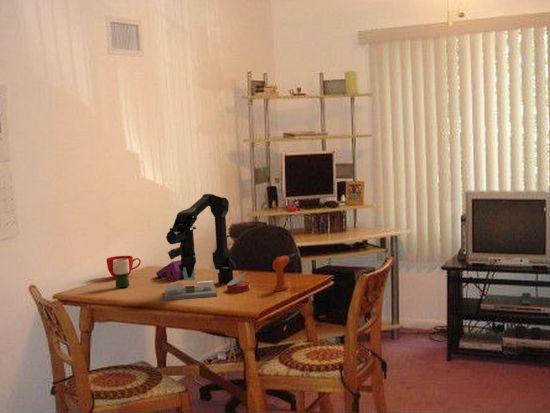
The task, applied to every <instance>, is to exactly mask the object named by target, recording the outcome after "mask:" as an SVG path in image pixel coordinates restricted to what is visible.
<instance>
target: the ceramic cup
mask: <svg viewBox="0 0 550 413" xmlns="http://www.w3.org/2000/svg"><path fill="white" fill-rule="evenodd" d="M116 259H128V260H129V273H127V276H128V277H129V276H130V274H131V273H132V271H133V270H135V269H137V268H138V267H140V265H141V263H142V261H141V259H140V258H139V257H135V258H134V257H133V255H117V256H116V255H115V256H110V257H107V258H106V266H107V270H108V272H109V274H110V275H111V276H112V277H113V278H114V279H116V276H117V274H114V272H113V260H116ZM136 260H138V263H137V265H136V266H134V262H135V261H136ZM133 266H134V267H133Z"/></svg>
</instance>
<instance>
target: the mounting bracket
mask: <svg viewBox="0 0 550 413" xmlns="http://www.w3.org/2000/svg"><path fill="white" fill-rule="evenodd" d="M183 267H185V266H184V265H183V264H181V259H180V260H179V259H177V260H175V261H171V262H170V263H168V264H167V265H165V266H164V267H162V268H161V269H159V270H158V271H156V276H157V278H162V276H163V277H167V279H168V280H169V281H170V280H172V282H175V280H176V281H179V280H180V279H184V276H183V272H184V269H183Z"/></svg>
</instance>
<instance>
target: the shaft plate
mask: <svg viewBox="0 0 550 413" xmlns="http://www.w3.org/2000/svg"><path fill="white" fill-rule="evenodd" d="M196 283H197V286H196V285H189V286H187V285H185V287H184V284H183V283H182V282H178V283H172V284H171V283H170V284H166V285H165V289H164V295H163V296H164V297H163V299H164V301H172V300H184V299H186V300H187V299H199V298H207V297H208V298H212V297H213V298H214V297H217V296H218V295H217V290H216V286H215V283H214V280H205V281H204V280H203V281H197V282H196Z"/></svg>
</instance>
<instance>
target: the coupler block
mask: <svg viewBox="0 0 550 413" xmlns="http://www.w3.org/2000/svg"><path fill="white" fill-rule="evenodd" d="M183 269H184V272H183V276H184V278H183V281H191V280H195V279H196V278H195V275H196V272H195V268H194V269H193V272H192V275H191V278H188V275H187V271H186V267H183Z"/></svg>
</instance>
